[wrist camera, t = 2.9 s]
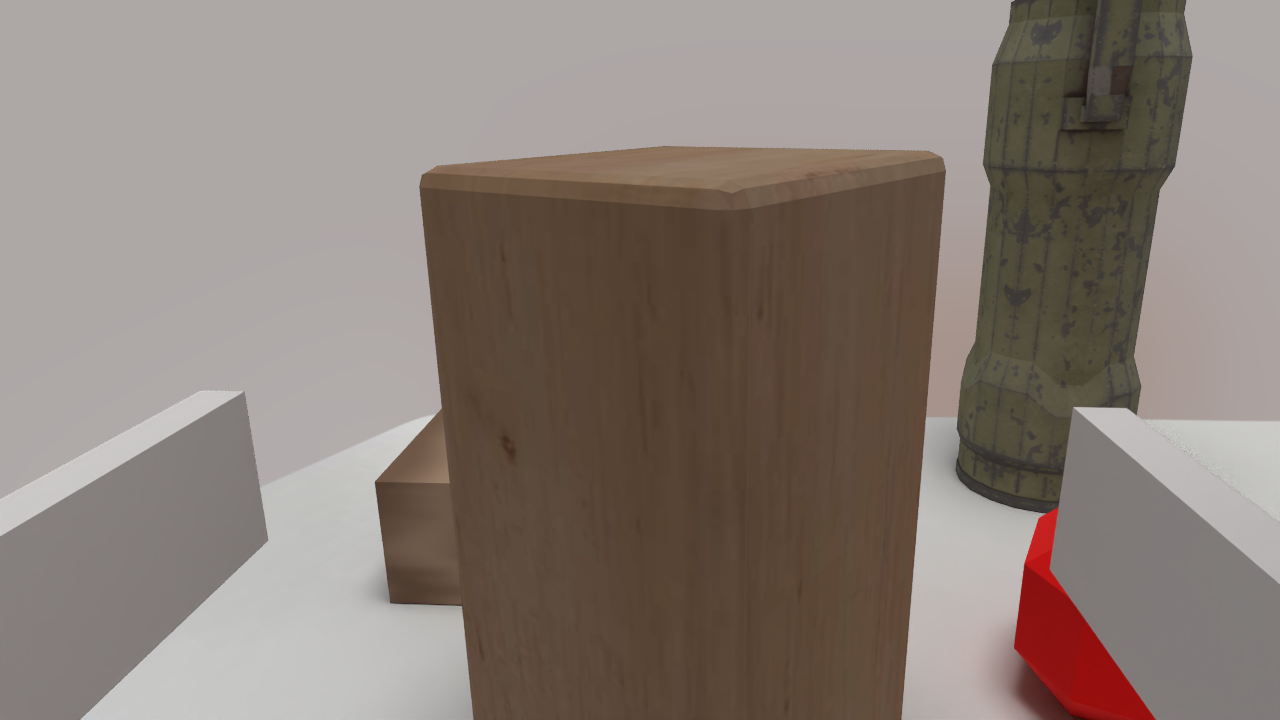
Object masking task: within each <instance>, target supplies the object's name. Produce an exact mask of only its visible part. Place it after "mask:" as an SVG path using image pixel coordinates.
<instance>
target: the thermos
mask: <svg viewBox="0 0 1280 720" xmlns="http://www.w3.org/2000/svg"><path fill="white" fill-rule="evenodd" d="M1185 4H1186V0H1015V1H1013V2H1011V10H1010V20H1009V27H1008V29H1007V31H1006V33H1005V36H1004V38H1003V41H1002V43H1001V45H1000V48H999V50H998V53H997V55H996V57H995V60H994V62H993V65H992V75H991V86H990V96H989V106H988V117H987V128H986V138H985V139H986V140H985V149H984V160H983V165H984V168H985V171H986V174H987V177H988V180H989V183H990V186H991V187H990V197H989V206H988V217H987V227H986V237H985V247H984V258H983V268H982V278H981V288H980V300H979V309H978V320H977V330H976V340H975V343H974V345H973V347H972V349H971V351H970V353H969V355H968V357H967V359H966V364H965V368H964V372H963V376H962V381H961V390H960V400H959V411H958V421H957V430H958V433H959V436H960V445H959V456H958V459H957V462H956V472H957V474H958V477H959V479H960V480H961V481H962V482H963V483H964V484H965V485H966V486H968V487H969V488H970V489H971V490H973V491H975V492H977V493H979V494H981V495H982V496H984V497H986V498H988V499H990V500H994V501H997V502H1000V503H1003V504H1006V505H1009V506H1012V507H1016V508H1021V509H1026V510H1031V511H1037V512H1042V513H1049V512H1051V511H1053V510H1054V509H1056V508H1058V507H1059V501H1060V494H1061V487H1062V480H1063V473H1064V467H1065V460H1066V453H1067V446H1068V439H1069V432H1070V425H1071V418H1072V411H1073V407H1094V408H1127V409H1128V410H1130V411H1131V412H1132V413H1134V414H1135V415H1137V409H1138V403H1139V396H1140V390H1141V384H1140V380H1139V375H1138V371H1137V367H1136V364H1135V359H1134V352H1135V345H1136V338H1137V332H1138V326H1139V320H1140V313H1141V307H1142V300H1143V294H1144V287H1145V281H1146V275H1147V269H1148V262H1149V255H1150V249H1151V243H1152V236H1153V230H1154V224H1155V217H1156V211H1157V205H1158V198H1159V192H1160V189H1161V187H1162V186H1163V184H1164V182H1165V181H1166V179H1167V178H1168V176H1169V175H1170V173H1171V172H1172V170H1173V168H1174V167H1175V162H1176V156H1177V149H1178V143H1179V137H1180V131H1181V125H1182V119H1183V112H1184V106H1185V100H1186V94H1187V88H1188V82H1189V75H1190V69H1191V62H1192V51H1191V46H1190V42H1189V36H1188V32H1187V27H1186V22H1185V16H1184V11H1185Z"/></svg>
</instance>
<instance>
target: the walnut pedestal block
mask: <svg viewBox="0 0 1280 720" xmlns="http://www.w3.org/2000/svg"><path fill="white" fill-rule="evenodd" d="M375 487H376V495H377V503H378V510H379V518H380V526H381V533H382V541H383V549H384V557H385V564H386V572H387V580H388V587H389V595H390V603H417V604H446V605H462V600H461V590H460V580H459V570H458V560H457V551H456V541H455V531H454V521H453V511H452V502H451V492H450V482H449V472H448V462H447V452H446V443H445V433H444V423H443V413H442V409H441V410H440V411H439V412H438V413H437V414H436V415H435V417H434V418H433V419H432V420H431V421H430V422H429V423H428V424H427V425H426V426H425V428H424V429H423V430H422V431H421V432H420V433H419V434H418V435H417V436H416V437H415V438H414V440H413V441H412V442H411V443H410V444H409V445H408V446H407V447H406V448H405V449H404V450H403V452H402V453H401V454H400V455H399V456H398V457H397V458H396V459H395V460H394V461H393V462H392V464H391V465H390V466H389V467H388V468H387V469H386V470H385V471H384V472H383V473H382V475H381V476H380V477H379V478H378V479H377V480H376V481H375Z"/></svg>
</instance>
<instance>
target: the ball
mask: <svg viewBox="0 0 1280 720" xmlns="http://www.w3.org/2000/svg"><path fill="white" fill-rule="evenodd" d="M1058 508H1059V507H1058ZM1058 508H1056V509H1054V510H1053V511H1051V512H1049V513H1047V514H1045V515H1044V516H1042V517H1040V518H1039V519H1038V523H1037V526H1036V529H1035V532H1034V535H1033V538H1032V541H1031V545H1030V548H1029V551H1028V554H1027V557H1026V560H1025V563H1024V571H1023V579H1022V587H1021V595H1020V603H1019V611H1018V619H1017V627H1016V635H1015V643H1014V648H1015V649H1016V651H1017V652H1018V653H1019V654H1020V655H1021V657H1022V658H1023V659H1024V660H1025V661H1026V662H1027V664H1028V665H1029V666H1030V667H1031V668H1032V670H1033V671H1034V672H1035V673H1036V674H1037V676H1038V677H1039V678H1040V679H1041V680H1042V682H1043V683H1044V684H1045V685H1046V686H1047V688H1048V689H1049V690H1050V691H1051V692H1052V694H1053V695H1054V696H1055V697H1056V698H1057V699H1058V701H1059V702H1060V703H1061V704H1062V705H1063V707H1064V708H1065V709H1066V710H1067V711H1068V713H1069V714H1070V715H1073V716H1076V717H1079V718H1083V719H1086V720H1156V719H1155V718H1154V716H1153V715H1152V713H1151V712H1150V710H1149V709H1148V708H1147V706H1146V705H1145V703H1144V702H1143V701H1142V699H1141V698H1140V696H1139V695H1138V694H1137V692H1136V691H1135V689H1134V688H1133V686H1132V685H1131V684H1130V682H1129V681H1128V679H1127V678H1126V677H1125V675H1124V674H1123V672H1122V671H1121V669H1120V668H1119V667H1118V665H1117V664H1116V662H1115V661H1114V660H1113V658H1112V657H1111V655H1110V654H1109V652H1108V651H1107V650H1106V648H1105V647H1104V645H1103V644H1102V643H1101V641H1100V640H1099V638H1098V637H1097V635H1096V634H1095V633H1094V631H1093V630H1092V628H1091V627H1090V626H1089V624H1088V623H1087V621H1086V620H1085V619H1084V617H1083V616H1082V614H1081V613H1080V611H1079V610H1078V609H1077V607H1076V606H1075V604H1074V603H1073V602H1072V600H1071V599H1070V597H1069V596H1068V594H1067V593H1066V592H1065V590H1064V589H1063V587H1062V586H1061V585H1060V583H1059V582H1058V580H1057V579H1056V577H1055V576H1054V575H1053V573H1052V572H1051V570H1050V563H1051V556H1052V549H1053V542H1054V536H1055V529H1056V522H1057V515H1058Z"/></svg>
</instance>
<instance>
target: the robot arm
mask: <svg viewBox="0 0 1280 720" xmlns="http://www.w3.org/2000/svg"><path fill="white" fill-rule="evenodd" d="M267 541H268V536H267V529H266V523H265V517H264V510H263V504H262V498H261V492H260V485H259V479H258V473H257V466H256V460H255V454H254V448H253V441H252V435H251V429H250V423H249V416H248V410H247V404H246V397H245V392H244V391H199V392H197V393H195V394H193V395H192V396H190V397H188V398H186V399H184V400H182V401H181V402H179V403H177V404H176V405H173V406H171V407H169V408H168V409H166V410H164V411H162V412H160V413H159V414H157V415H155V416H153V417H151V418H149V419H147V420H146V421H144V422H142V423H140V424H139V425H136V426H134V427H133V428H131V429H129V430H127V431H125V432H123V433H122V434H120V435H118V436H116V437H114V438H112V439H110V440H109V441H107V442H105V443H103V444H101V445H99V446H98V447H96V448H94V449H92V450H90V451H88V452H87V453H85V454H83V455H81V456H79V457H77V458H75V459H74V460H72V461H70V462H68V463H66V464H64V465H62V466H61V467H59V468H57V469H55V470H53V471H52V472H50V473H48V474H46V475H44V476H42V477H40V478H38V479H37V480H35V481H33V482H31V483H29V484H28V485H26V486H24V487H22V488H20V489H18V490H16V491H15V492H13V493H11V494H9V495H7V496H5V497H3V498H2V499H0V720H80V719H81V718H82V717H83V716H84V715H85V714H86V713H87V712H89V711H90V710H91V709H92V708H93V707H94V706H95V705H96V704H97V703H98V702H99V701H100V700H101V699H102V698H103V697H104V696H105V695H106V694H107V693H108V692H110V691H111V690H112V689H113V688H114V687H115V686H116V685H117V684H118V683H119V682H120V681H121V680H122V679H123V678H124V677H125V676H126V675H127V674H128V673H130V672H131V671H132V670H133V669H134V668H135V667H136V666H137V665H138V664H139V663H140V662H141V661H142V660H143V659H144V658H145V657H146V656H147V655H148V654H149V653H151V652H152V651H153V650H154V649H155V648H156V647H157V646H158V645H159V644H160V643H161V642H162V641H163V640H164V639H165V638H166V637H167V636H168V635H169V634H170V633H172V632H173V631H174V630H175V629H176V628H177V627H178V626H179V625H180V624H181V623H182V622H183V621H184V620H185V619H186V618H187V617H188V616H189V615H190V614H191V613H193V612H194V611H195V610H196V609H197V608H198V607H199V606H200V605H201V604H202V603H203V602H204V601H205V600H206V599H207V598H208V597H209V596H210V595H211V594H213V593H214V592H215V591H216V590H217V589H218V588H219V587H220V586H221V585H222V584H223V583H224V582H225V581H226V580H227V579H228V578H229V577H230V576H231V575H232V574H234V573H235V572H236V571H237V570H238V569H239V568H240V567H241V566H242V565H243V564H244V563H245V562H246V561H247V560H248V559H249V558H250V557H251V556H252V555H253V554H255V553H256V552H257V551H258V550H259V549H260V548H261V547H262V546H263V545H264V544H265V543H266V542H267ZM1050 570H1051V572H1052V573H1053V575H1054V576H1055V577H1056V579H1057V580H1058V582H1059V583H1060V585H1061V586H1062V587H1063V589H1064V590H1065V592H1066V593H1067V594H1068V596H1069V597H1070V599H1071V600H1072V602H1073V603H1074V604H1075V606H1076V607H1077V609H1078V610H1079V611H1080V613H1081V614H1082V616H1083V617H1084V619H1085V620H1086V621H1087V623H1088V624H1089V626H1090V627H1091V628H1092V630H1093V631H1094V633H1095V634H1096V635H1097V637H1098V638H1099V640H1100V641H1101V643H1102V644H1103V645H1104V647H1105V648H1106V650H1107V651H1108V652H1109V654H1110V655H1111V657H1112V658H1113V660H1114V661H1115V662H1116V664H1117V665H1118V667H1119V668H1120V669H1121V671H1122V672H1123V674H1124V675H1125V677H1126V678H1127V679H1128V681H1129V682H1130V684H1131V685H1132V686H1133V688H1134V689H1135V691H1136V692H1137V694H1138V695H1139V696H1140V698H1141V699H1142V701H1143V702H1144V703H1145V705H1146V706H1147V708H1148V709H1149V710H1150V712H1151V713H1152V715H1153V716H1154V718H1155V719H1156V720H1280V522H1279V521H1277V520H1276V519H1275V518H1273V517H1272V516H1271V515H1269V514H1268V513H1267V512H1265V511H1264V510H1263V509H1261V508H1260V507H1259V506H1257V505H1256V504H1255V503H1253V502H1252V501H1250V500H1249V499H1248V498H1246V497H1245V496H1244V495H1242V494H1241V493H1240V492H1238V491H1237V490H1236V489H1234V488H1233V487H1232V486H1230V485H1229V484H1228V483H1226V482H1225V481H1224V480H1222V479H1221V478H1220V477H1218V476H1217V475H1216V474H1214V473H1213V472H1212V471H1210V470H1209V469H1208V468H1206V467H1205V466H1204V465H1202V464H1201V463H1200V462H1198V461H1197V460H1196V459H1194V458H1193V457H1191V456H1190V455H1189V454H1187V453H1186V452H1185V451H1183V450H1182V449H1181V448H1179V447H1178V446H1177V445H1175V444H1174V443H1173V442H1171V441H1170V440H1169V439H1167V438H1166V437H1165V436H1163V435H1162V434H1161V433H1159V432H1158V431H1157V430H1155V429H1154V428H1153V427H1151V426H1150V425H1149V424H1147V423H1146V422H1145V421H1143V420H1142V419H1141V418H1139V417H1138V416H1137V415H1135V414H1134V413H1132V412H1131V411H1130V410H1128V409H1127V408H1094V407H1073V411H1072V418H1071V425H1070V432H1069V439H1068V446H1067V453H1066V460H1065V467H1064V473H1063V480H1062V487H1061V494H1060V501H1059V508H1058V515H1057V522H1056V529H1055V536H1054V542H1053V549H1052V556H1051V563H1050Z"/></svg>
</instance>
